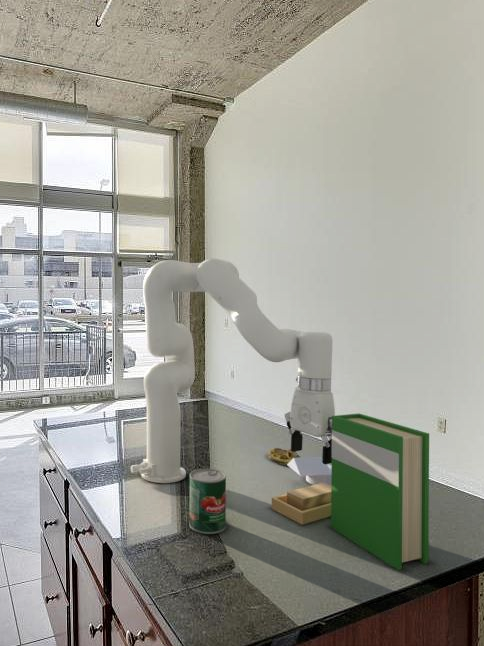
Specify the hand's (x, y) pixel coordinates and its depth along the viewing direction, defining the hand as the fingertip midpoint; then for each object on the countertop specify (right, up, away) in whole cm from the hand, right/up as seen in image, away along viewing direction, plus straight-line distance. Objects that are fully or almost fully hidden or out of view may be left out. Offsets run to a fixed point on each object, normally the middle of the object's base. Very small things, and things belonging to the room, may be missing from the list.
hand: (311, 456), depth 114 cm
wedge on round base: (+7, -12, +17) cm, 22 cm away
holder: (0, -12, 0) cm, 12 cm away
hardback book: (+8, -12, -17) cm, 22 cm away
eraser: (0, -12, 0) cm, 12 cm away
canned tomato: (-25, -12, -9) cm, 30 cm away
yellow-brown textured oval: (+3, -12, +36) cm, 38 cm away
